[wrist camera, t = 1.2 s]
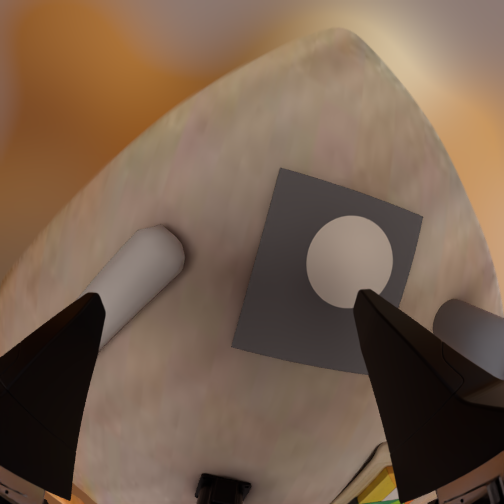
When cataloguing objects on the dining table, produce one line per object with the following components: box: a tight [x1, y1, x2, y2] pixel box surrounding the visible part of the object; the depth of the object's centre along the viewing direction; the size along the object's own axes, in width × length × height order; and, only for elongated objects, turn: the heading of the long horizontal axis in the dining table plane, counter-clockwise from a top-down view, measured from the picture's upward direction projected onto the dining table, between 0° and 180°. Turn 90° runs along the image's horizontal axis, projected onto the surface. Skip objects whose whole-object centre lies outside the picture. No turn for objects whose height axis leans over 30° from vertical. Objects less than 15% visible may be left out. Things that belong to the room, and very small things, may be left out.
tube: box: [78, 224, 185, 351], centre depth 23 cm, size 5×5×25 cm
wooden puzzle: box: [330, 442, 414, 504], centre depth 25 cm, size 18×19×4 cm
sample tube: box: [433, 299, 504, 380], centre depth 17 cm, size 5×5×13 cm
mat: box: [231, 168, 423, 375], centre depth 23 cm, size 16×14×1 cm
